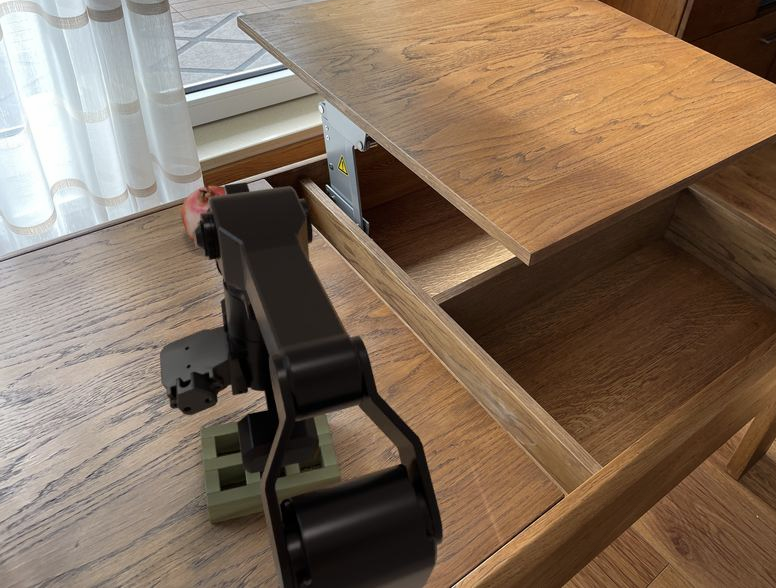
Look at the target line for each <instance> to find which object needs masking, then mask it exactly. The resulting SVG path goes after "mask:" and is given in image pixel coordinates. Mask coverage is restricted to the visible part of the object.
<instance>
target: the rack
mask: <svg viewBox="0 0 776 588" xmlns="http://www.w3.org/2000/svg"><path fill="white" fill-rule="evenodd" d="M314 420H315V424H316V429H317V433H318V437H319V453H318V455H317V456H316V457H315V459H314V460H310V461H306V462H301V463H297V464H292V465H288V466H283V467H281V474H282V473H283V475H284V476H281V478H277V481H276V484H275V489H276V494H277V499H278V504H279V505H280V504H281V502H282V500H284V499H287V498H290V497H294V496H297V495H300V494H303V493H307V492H310V491H313V490H316V489H320V488H323V487H326V486H330V485H333V484H336V483H339V482H342V480H341V479H342V474H341V469H340V467H339V460H338V457H337V453H336V450H335V445H334V442H333V438H332V434H331V430H330V424H329V421H328V416H327V414H323V415H320V416H316V417H314ZM238 421H239V420H237V421H231V422H227V423H222V424H217V425H211V426H206V427H201V428H199V434H200V435H199V437H200V446H201V447H200V448H201V456H202V465H203V466H202V467H203V468H202V469H203V477H204V489H205V497H206V499H205V500H206V508H207V513H208V520H209V524H210V525H213V524H216V523H217V524H218V523H221V522H225V521H229V520H233V519H237V518H242V517H246V516H249V515H253V514H257V513H262V512H264V508H263V503H262V498H261V493H260V481H261V478H262V475H263V472H264V471H261V472H257V473H252V474H251V473H249V472H247V471H245V470H243V464H242V457H241V450H240V442H239V434H238V426H237V422H238ZM239 450H240V452H236V453H231V454H226V455H223V456H218V455H221V454H225V453H230V452H234V451H239ZM316 465H320V468H317V469H313V470H308V471H303V472H301V469H303V468H308V467H312V466H316ZM241 482H245V483H246V484H245V485H243V486H239V487H234V488H229V489H225V490H222V487H225V486H227V485H228V486H229V485H233V484H237V483H241Z"/></svg>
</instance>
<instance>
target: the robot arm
mask: <svg viewBox="0 0 776 588" xmlns="http://www.w3.org/2000/svg"><path fill="white" fill-rule="evenodd" d="M223 187H224V188H225V195H221V196H213V197H210V198H209V199H208V203H209V209H208V210H207V213H200V221H199V223H198V226H197V227H196V229H195V230H194V231H193V238H194V242H193V243H194V248H198V249H200V250H201V251H202V252H203V253H204V257H205V258H206V259H207V261H213V260H214V262H215V263H214V264H215V267H216V269H217V272H218V273H219V274H220V275H221V277H222V286H223V296H224V298H223V299H222V300H220V307H221V316H222V326H218V327H214V328H210V329H209V328H206V329H201V330H198V331H197V332H194V333H191V334H189V335H186V336H184V337H181V338H179V339H176V340H174V341H171V342H169V343H167V344H166V345H165V346H163V348H162V349H161V351H160V353H159V360H160V361H159V363H160V381H161V382H160V383H161V386H163V388H164V389H166V397H168V399H169V407H170V408H171V409H173V410H174V409H178V410H179V411H180V412H181V413H182V414H183V415H184V416H185V415H186V416H193V415H196V414H198V413H200V412H203V411H206V410H208V409H211V408H213V407H215V406H216V405H217V403H218V401H219V399H218V394H219V393H220V392H222V391H225V389H227V388H228V387H229V386H230V387H231V394H232V396H237V395H238V396H239V395H244V394H247V393H249V389H251V390H252V391H257V392H263V394H264V399H265V404H266V410H260V411H255V412H250V413H247V414H246V415H244V416H243V417H242V418H241V419H239V420H237V421H238V422H237V426H238V434H239V442H240V452H241V457H242V464H243V470H245V471H247V472H249V473H251V474H252V473H257V472H261V471H264V472H263V475H262V477H261V481H260V493H261V498H262V503H263V508H264V511H263V513H264V519H265V523H266V528H267V533H268V539H269V543H270V548H271V551H272V552H271V553H272V559H273V564H274V568H275V572H276V576H277V577H276V578H277V581H278V585H279V588H424V587H425V586H426V585H427V583H428V581H429V579H430V577H431V575H432V573H433V571H434V569H435V567H436V564H437V561H438V546H439V545H441V544H442V543H443V538H444V531H443V530H444V529H443V524H442V523H443V522H442V517H441V513H440V508H439V505H438V500H437V496H436V493H435V489H434V484H433V480H432V476H431V473H430V467H429V464H428V461H427V457H426V453H425V449H424V445H423V442H422V441H421V438H420V436H419V435H418V434H417V433H416V432H415V431H414V430H413V429H412V428H411V427H410V426H409V425H408V424H407V422H405V420H403V418H401V416H400V415H399V414H398V413H397V412H396V411H395V410H394V409H393V408H392V407H391V405H390V404H389V403H388V402H386V400H385V399H384V398H383V397H382V396H381V395H380V394H379V392H378V388H377V384H376V380H375V376H374V371H373V367H372V363H371V360H370V357H369V353H368V350H367V348H366V345H365V343H364V340H363V339H362V338H361V336H359V335H355V336H350V334H349V333H348V331H347V330H346V327H345V325H344V323H343V322H342V319H341V318H340V316H339V314H338V312H337V310H336V308H335V307H334V305H333V303H332V300H331V299H330V296H329V295H328V293H327V291H326V289H325V287H324V285H323V284H322V281H321V279H320V277H319V276H318V273H317V272H316V270H315V268H314V266H313V264H312V262H311V260H310V249H309V244H312V243H313V236H314V233H313V223H312V217H311V212H310V209H309V205H308V203H307V201H306V199H305V198H299V196H298V193H297V191H296V190H295V189H294V188H293V186H291V185H287V186H280V187H273V188H266V189H259V190H250V188H249V185H248V182H238V183H231V184H224V186H223ZM357 406H358V407H359V409H360V410H361V412H363V413H364V414H365V415H366V416H367V417H368V418H369V419H370V421H372V422H373V424H374V425H375V426H376V427H377V428H378V429H379V430H380V431H381V433H383V434H384V435H385V436H386V438H388V440H390V442H391V443H392V444H393V445H394V446H395V447H396V449H397V453H398V456H399V457H398V458H399V460H400V463H399V464H395V465H392V466H389V467H385V468H382V469H379V470H375V471H373V472H369V473H366V474H362V475H359V476H356V477H353V478H350V479H346V480H343V481H341V482H339V483H336V484H333V485H330V486H326V487H323V488H320V489H316V490H313V491H310V492H307V493H303V494H300V495H297V496H294V497H290V498H287V499H284V500H282V502H281V504H280V505H279V504H278V499H277V494H276V489H275V484H276V481H277V478H278V475H279V472H280V468H281V467H283V466H288V465H292V464H297V463H301V462H306V461H310V460H314V459H315V457H316V456H317V455H318V453H319V437H318V433H317V429H316V424H315V420H314V417H316V416H320V415H323V414H326V415H327V414H330V413H331V414H332V413H335V412H338V411H342V410H346V409H350V408H353V407H357Z"/></svg>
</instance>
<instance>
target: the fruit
mask: <svg viewBox="0 0 776 588" xmlns="http://www.w3.org/2000/svg"><path fill="white" fill-rule="evenodd" d="M221 195H225V188H224V186H222V185H207V184H205V183H204V185H203V186H201V187H199V188H197V189H195V190H194V191H193V192H191V193H190V194H189V195H188V196H187V197H186V198H185V200H184V202H183V203H182V206H181V209H180V217H181V221H182V224H183V227H184V229H185V232H186V234H187V236H188V237H189V239H190V240H191V241H192V242H193V243H194V238H193V231H194V230H195V229H196V227H197V226H198V223H199V221H200V213H207V210H208V209H209V203H208V199H209V198H210V197H213V196H221Z"/></svg>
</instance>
